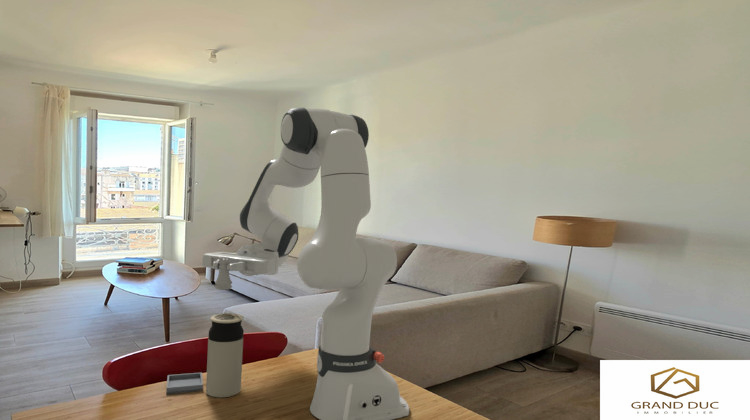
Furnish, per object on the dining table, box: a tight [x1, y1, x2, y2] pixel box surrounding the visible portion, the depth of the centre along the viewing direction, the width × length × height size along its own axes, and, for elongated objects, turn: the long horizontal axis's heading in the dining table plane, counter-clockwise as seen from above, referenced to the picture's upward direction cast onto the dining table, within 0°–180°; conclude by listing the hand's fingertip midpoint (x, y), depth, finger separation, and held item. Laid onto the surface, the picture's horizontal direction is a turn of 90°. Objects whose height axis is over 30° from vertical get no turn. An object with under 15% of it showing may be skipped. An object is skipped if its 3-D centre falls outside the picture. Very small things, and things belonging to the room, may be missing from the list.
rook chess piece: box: [214, 257, 233, 291], centre depth 124 cm, size 4×4×8 cm
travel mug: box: [205, 312, 244, 399], centre depth 115 cm, size 8×8×18 cm
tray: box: [166, 372, 204, 395], centre depth 117 cm, size 8×8×2 cm
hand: (221, 266), depth 123 cm, fingers closed on rook chess piece, 3 cm apart
